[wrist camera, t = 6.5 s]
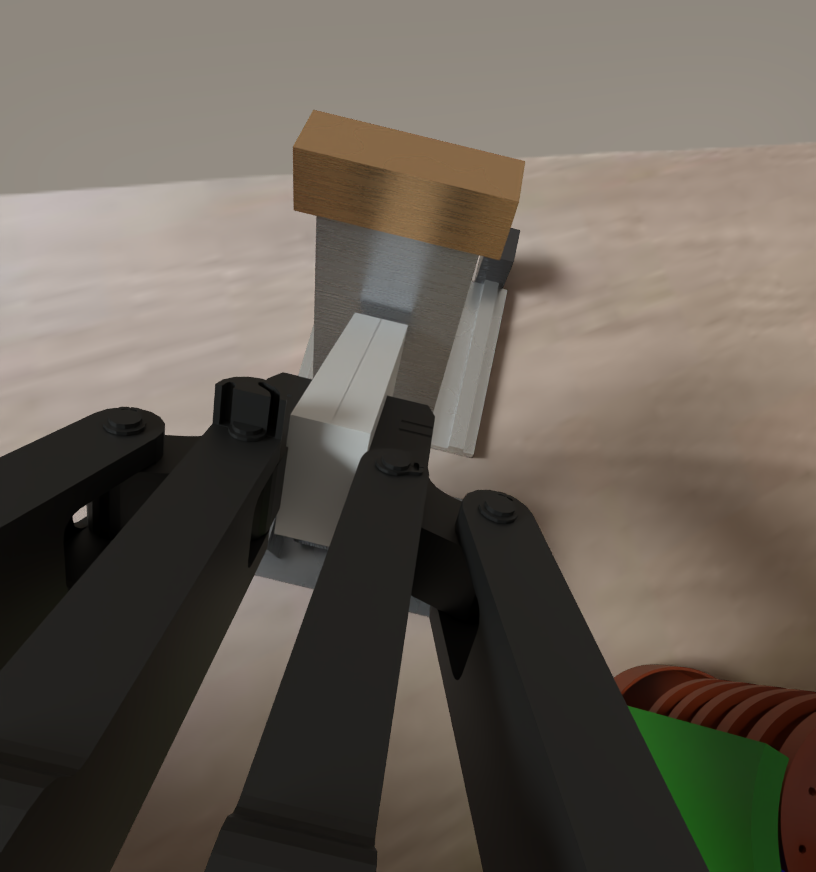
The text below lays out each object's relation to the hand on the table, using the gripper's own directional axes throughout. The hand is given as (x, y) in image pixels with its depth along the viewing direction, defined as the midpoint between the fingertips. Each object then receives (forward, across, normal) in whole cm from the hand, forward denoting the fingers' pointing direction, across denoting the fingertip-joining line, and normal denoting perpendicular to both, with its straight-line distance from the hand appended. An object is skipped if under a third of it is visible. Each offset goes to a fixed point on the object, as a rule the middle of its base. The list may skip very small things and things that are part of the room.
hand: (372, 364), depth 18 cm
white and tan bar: (+8, 0, +12) cm, 15 cm away
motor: (+5, -17, +18) cm, 25 cm away
